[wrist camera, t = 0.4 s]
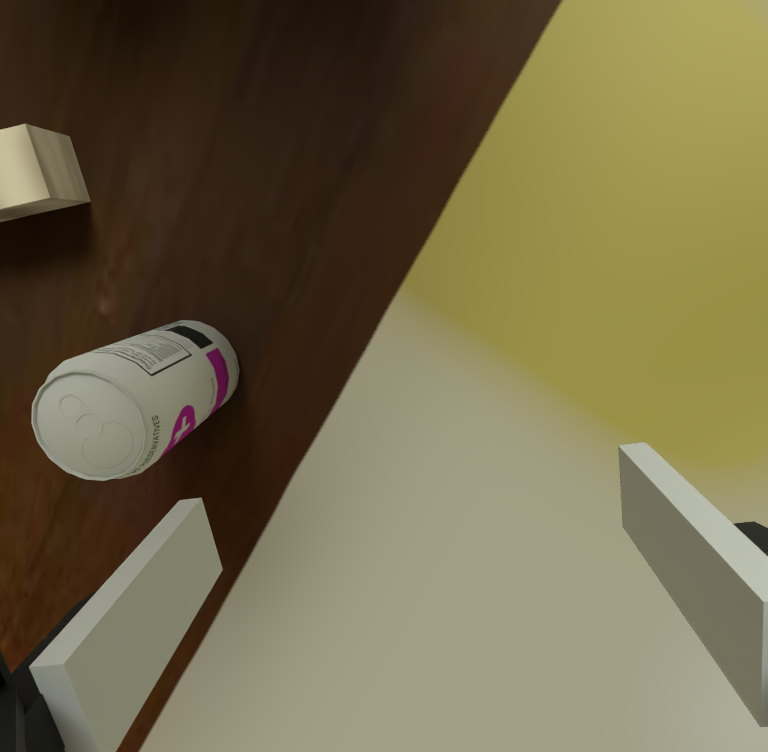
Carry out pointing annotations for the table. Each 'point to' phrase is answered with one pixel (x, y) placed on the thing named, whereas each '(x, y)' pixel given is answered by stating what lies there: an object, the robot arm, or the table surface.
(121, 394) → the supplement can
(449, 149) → the table surface
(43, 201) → the beam
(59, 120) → the table surface
